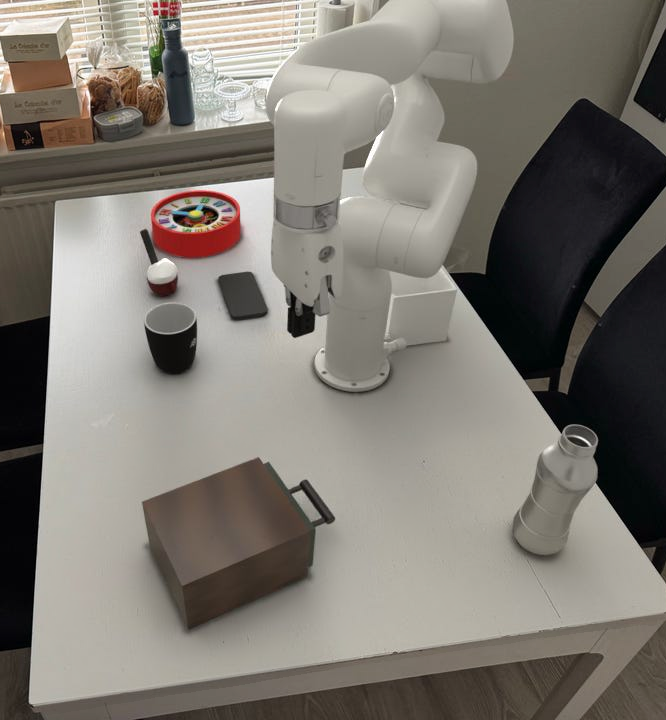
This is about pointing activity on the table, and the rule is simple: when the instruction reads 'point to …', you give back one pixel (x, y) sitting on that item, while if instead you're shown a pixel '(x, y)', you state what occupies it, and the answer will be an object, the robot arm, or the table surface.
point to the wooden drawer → (313, 498)
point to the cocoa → (159, 270)
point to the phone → (242, 295)
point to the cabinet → (226, 540)
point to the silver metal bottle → (557, 491)
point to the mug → (172, 336)
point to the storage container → (420, 308)
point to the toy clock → (196, 223)
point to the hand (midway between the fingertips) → (300, 331)
